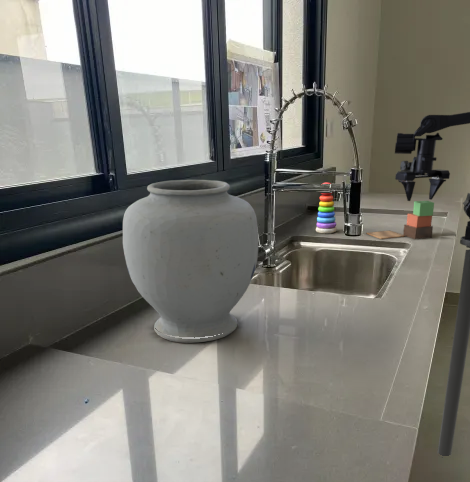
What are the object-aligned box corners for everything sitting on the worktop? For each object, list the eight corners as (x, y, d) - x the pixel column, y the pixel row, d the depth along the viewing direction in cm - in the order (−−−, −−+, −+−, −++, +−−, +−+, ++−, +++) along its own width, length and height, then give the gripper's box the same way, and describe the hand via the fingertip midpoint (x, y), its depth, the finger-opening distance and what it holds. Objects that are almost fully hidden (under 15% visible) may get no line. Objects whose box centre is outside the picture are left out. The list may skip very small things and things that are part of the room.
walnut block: (419, 233, 184) (420, 222, 183) (431, 237, 178) (432, 226, 177) (403, 235, 183) (404, 224, 181) (414, 239, 176) (416, 228, 175)
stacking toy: (320, 229, 197) (321, 180, 191) (339, 230, 193) (341, 181, 187) (312, 233, 191) (313, 183, 184) (332, 234, 187) (334, 183, 180)
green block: (426, 213, 179) (427, 200, 177) (432, 215, 174) (434, 202, 173) (413, 213, 179) (414, 201, 177) (419, 216, 174) (420, 203, 172)
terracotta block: (420, 223, 182) (421, 212, 181) (431, 226, 177) (432, 215, 176) (406, 224, 181) (407, 213, 179) (416, 227, 175) (417, 216, 174)
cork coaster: (389, 231, 190) (389, 230, 189) (405, 236, 181) (405, 235, 181) (366, 233, 187) (366, 232, 187) (381, 239, 178) (381, 238, 178)
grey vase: (274, 311, 113) (273, 176, 102) (234, 362, 90) (228, 193, 79) (169, 301, 122) (158, 175, 111) (108, 345, 99) (87, 191, 88)
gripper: (432, 152, 180) (426, 195, 186) (388, 153, 174) (383, 198, 180) (454, 153, 170) (447, 199, 176) (408, 155, 165) (402, 203, 170)
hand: (419, 200), depth 176 cm, fingers open, 9 cm apart
